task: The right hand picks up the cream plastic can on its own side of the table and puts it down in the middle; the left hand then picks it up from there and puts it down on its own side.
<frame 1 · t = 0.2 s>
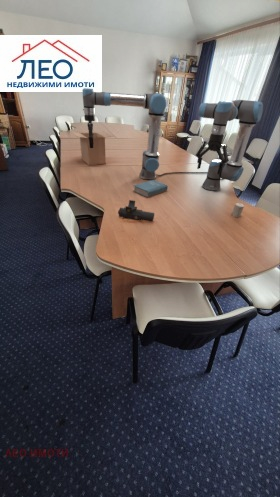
left hand: (91, 146, 173), 28 cm above the table, tool pointing down, fingers open, 13 cm apart
right hand: (208, 171, 139), 28 cm above the table, tool pointing down, fingers open, 13 cm apart
book: (150, 191, 179), on the table
laser sight: (135, 219, 140), on the table
box: (93, 161, 237), on the table
can: (236, 215, 153), on the table
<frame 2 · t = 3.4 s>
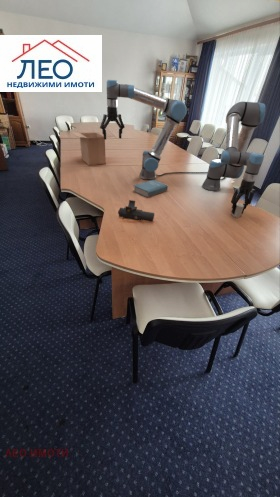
left hand: (112, 138, 173), 34 cm above the table, tool pointing down, fingers open, 13 cm apart
right hand: (236, 213, 152), 2 cm above the table, tool pointing down, fingers closed on can, 6 cm apart
can: (236, 215, 153), on the table, touching right hand
everything else where it was.
when the right hand's fingers open (3 cm above the table, at t = 10.5 s): can drops 2 cm, on the table.
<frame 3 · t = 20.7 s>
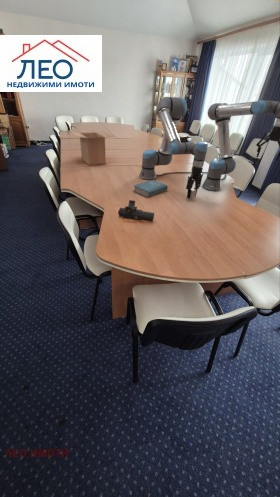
left hand: (191, 197, 169), 2 cm above the table, tool pointing down, fingers closed on can, 6 cm apart
right hand: (266, 158, 162), 31 cm above the table, tool pointing down, fingers open, 13 cm apart
can: (190, 199, 171), on the table, touching left hand
everything else where it was.
when the left hand's fingers open (3 cm above the table, at t = 30.3 s): can drops 2 cm, on the table.
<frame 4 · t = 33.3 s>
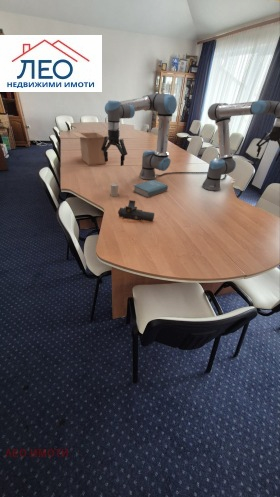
left hand: (114, 163, 155), 23 cm above the table, tool pointing down, fingers open, 13 cm apart
right hand: (266, 158, 162), 31 cm above the table, tool pointing down, fingers open, 13 cm apart
can: (114, 195, 169), on the table
everything else where it was.
at the end: can inside the target area (0.0 cm from its centre), on the table; can tilted 0°; the two hands never held the can at the same time; the left hand is holding nothing; the right hand is holding nothing; can at rest at the end (0.0 cm/s) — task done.
